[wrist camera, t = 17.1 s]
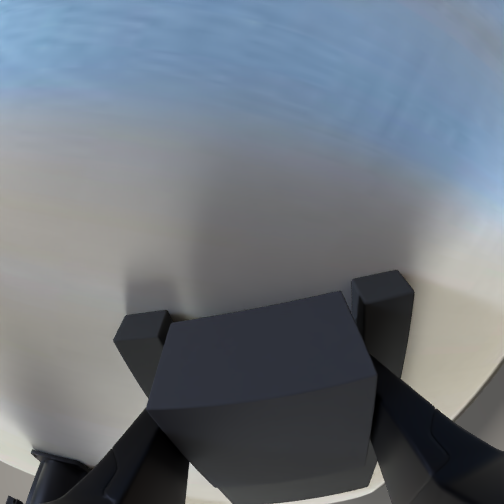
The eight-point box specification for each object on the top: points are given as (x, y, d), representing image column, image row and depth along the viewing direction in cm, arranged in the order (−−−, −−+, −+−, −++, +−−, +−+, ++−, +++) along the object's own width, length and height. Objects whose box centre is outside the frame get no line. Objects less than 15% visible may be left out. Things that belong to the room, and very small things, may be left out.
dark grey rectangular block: (218, 416, 12) (214, 488, 9) (170, 322, 9) (144, 409, 6) (346, 395, 11) (365, 466, 8) (340, 289, 9) (378, 374, 6)
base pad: (234, 490, 18) (234, 506, 17) (124, 314, 11) (111, 340, 9) (364, 471, 18) (368, 486, 16) (397, 268, 10) (415, 290, 9)
